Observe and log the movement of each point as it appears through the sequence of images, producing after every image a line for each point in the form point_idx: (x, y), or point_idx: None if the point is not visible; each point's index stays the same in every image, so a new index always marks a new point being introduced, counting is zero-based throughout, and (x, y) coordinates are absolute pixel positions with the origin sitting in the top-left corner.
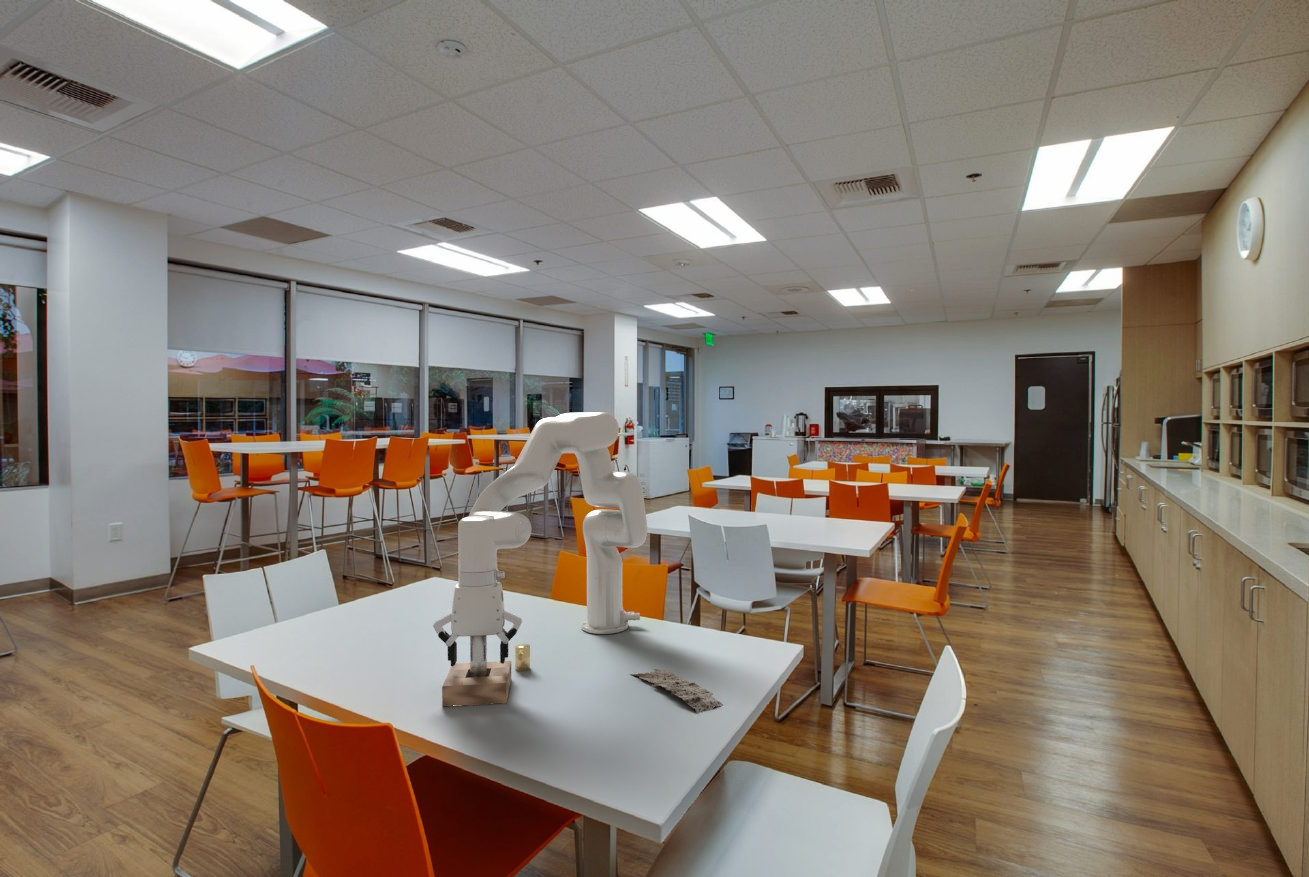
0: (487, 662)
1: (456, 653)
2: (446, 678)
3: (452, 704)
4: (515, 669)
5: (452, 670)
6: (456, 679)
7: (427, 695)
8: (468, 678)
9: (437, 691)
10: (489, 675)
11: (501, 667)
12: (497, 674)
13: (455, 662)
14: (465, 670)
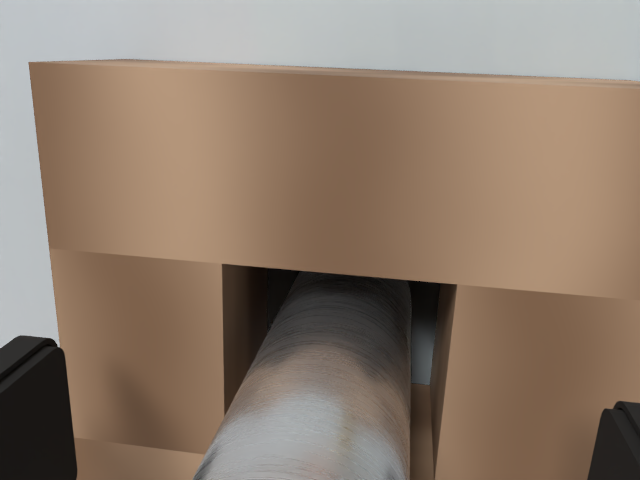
0: (409, 99)
1: (8, 415)
2: (74, 426)
3: None
4: None
5: (76, 257)
6: (160, 471)
7: (11, 264)
8: None
9: None
10: (439, 460)
11: (568, 290)
12: (516, 458)
13: (66, 429)
14: (198, 285)
